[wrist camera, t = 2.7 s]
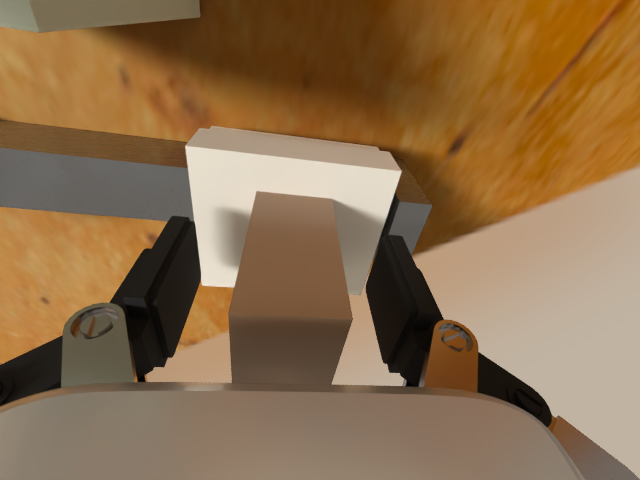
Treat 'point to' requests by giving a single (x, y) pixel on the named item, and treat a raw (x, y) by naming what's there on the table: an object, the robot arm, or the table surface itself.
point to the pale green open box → (91, 13)
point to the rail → (134, 177)
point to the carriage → (287, 243)
